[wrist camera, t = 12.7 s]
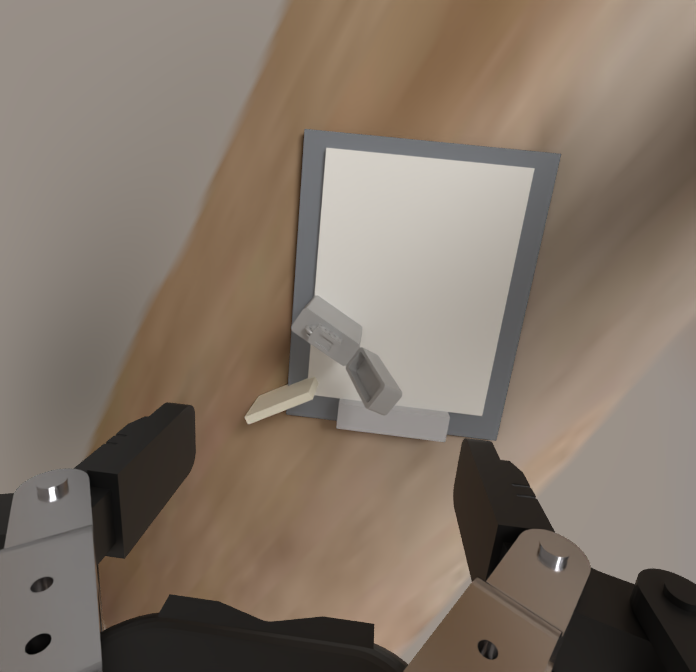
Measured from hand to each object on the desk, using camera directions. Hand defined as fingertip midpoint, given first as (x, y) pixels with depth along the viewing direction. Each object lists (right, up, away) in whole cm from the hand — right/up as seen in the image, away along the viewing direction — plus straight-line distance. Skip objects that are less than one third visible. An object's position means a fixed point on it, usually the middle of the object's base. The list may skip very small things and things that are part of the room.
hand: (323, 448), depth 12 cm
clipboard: (+5, +6, +17) cm, 19 cm away
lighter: (+1, +4, +17) cm, 18 cm away
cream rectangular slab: (-4, -1, +20) cm, 20 cm away
